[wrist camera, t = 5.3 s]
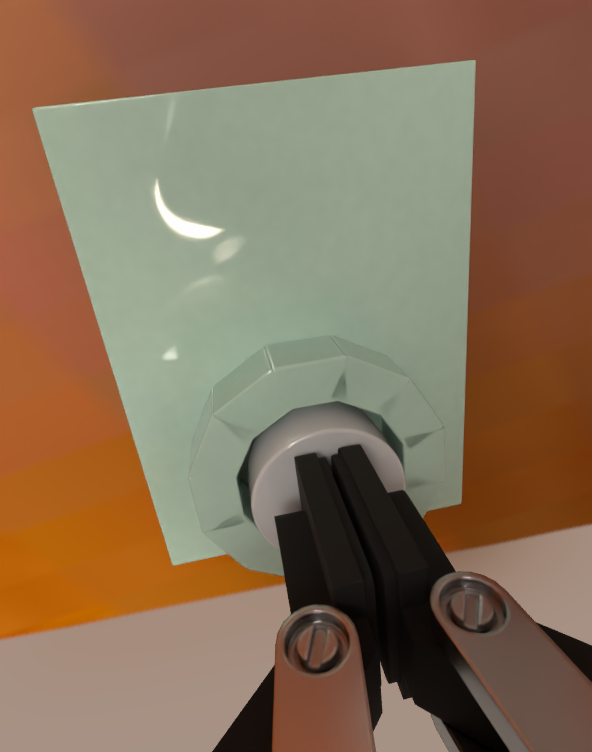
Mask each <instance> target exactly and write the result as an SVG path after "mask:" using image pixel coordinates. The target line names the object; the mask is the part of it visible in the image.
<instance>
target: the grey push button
mask: <svg viewBox="0 0 592 752" xmlns="http://www.w3.org/2000/svg"><path fill="white" fill-rule="evenodd" d="M358 444H360V445H361V446H362V448H363V450H364V451H365V453H366V455H367V457H368V459H369V460H370V462H371V464H372V466H373V467H374V469H375V471H376V473H377V475H378V476H379V478H380V480H381V482H382V483H383V485H384V487H385V489H386V491H387V492H388V493H389V492H394V491H399V490H404V491H405V475H404V470H403V467H402V464H401V462H400V460H399V458H398V456H397V455H396V453H395V452H394V450H393V449H392V447H391V446H390V444H389V443H388V442H387V440H386V439H385V437H384V436H383V434H382V433H381V431H380V430H379V428H378V427H377V425H376V424H375V423H374V421H373V420H372V419H371V418H370V417H369V416H368V415H367V414H365V413H364V412H363V411H362V410H360V409H358V408H356V407H354V406H351V405H348V404H345V403H342V402H339V401H335V402H330V403H324V404H319V405H314V406H308V407H303V408H297V409H292V410H291V411H289V412H288V413H287V414H285V415H284V416H283V417H281V418H280V419H279V420H277V421H276V422H275V423H273V424H272V425H271V426H270V427H268V428H267V429H266V430H264V431H263V432H262V433H260V434H259V435H258V436H256V438H255V440H254V442H253V444H252V446H251V449H250V452H249V456H248V462H247V472H248V481H249V490H250V500H251V508H252V515H253V518H254V522H255V524H256V526H257V528H258V530H259V531H260V533H261V534H262V536H263V537H264V538H265V539H266V540H267V541H268V542H269V543H270V544H271V545H273V546H274V547H275V548H277V549H278V550H280V547H279V541H278V535H277V530H276V524H275V518H274V516H278V515H283V514H288V513H292V512H297V511H302V509H301V502H300V495H299V488H298V482H297V475H296V468H295V461H294V457H296V456H301V455H306V454H311V453H316V454H317V457H318V458H321V457H326V460H327V462H328V465H329V467H330V469H331V472H332V463H331V456H332V455H337V454H338V448H342V447H347V446H353V445H358ZM332 474H333V473H332Z"/></svg>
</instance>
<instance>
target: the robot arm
mask: <svg viewBox="0 0 592 752" xmlns="http://www.w3.org/2000/svg"><path fill="white" fill-rule="evenodd" d="M294 461H295V468H296V475H297V482H298V488H299V495H300V502H301V509H302V511H297V512H292V513H288V514H283V515H278V516H274V518H275V524H276V530H277V535H278V541H279V547H280V553H281V559H282V564H283V570H284V576H285V582H286V587H287V593H288V599H289V605H290V611H291V615H290V616H289V617H288V618H287V619H286V620H285V621H284V622H283V624H282V626H281V628H280V630H279V631H278V634H277V639H276V644H275V665H274V667H273V668H272V670H271V671H270V672H269V674H268V675H267V677H266V678H265V679H264V680H263V682H262V683H261V685H260V686H259V687H258V689H257V691H256V692H255V693H254V694H253V696H252V697H251V699H250V700H249V701H248V703H247V704H246V706H245V707H244V708H243V710H242V711H241V712H240V714H239V715H238V717H237V718H236V719H235V721H234V722H233V724H232V725H231V726H230V728H229V729H228V731H227V732H226V733H225V735H224V736H223V737H222V739H221V740H220V742H219V743H218V745H217V746H216V747H215V749H214V750H213V751H212V752H376V748H375V742H374V735H373V731H374V729H375V726H376V725H377V722H378V721H379V718H380V716H381V714H382V700H381V671H380V662H381V665H382V668H383V670H384V674H385V676H386V679H387V681H388V683H389V684H390V683H394V682H397V683H398V686H399V689H400V691H401V694H402V697H403V699H407V698H411V697H412V698H413V701H414V703H415V704H416V705H417V706H419V707H421V708H422V709H424V710H426V711H428V712H429V713H431V717H432V720H433V722H434V725H435V727H436V729H437V731H438V733H439V735H440V737H441V739H442V740H443V742H444V744H445V746H446V747H447V749H448V751H449V752H592V646H591V645H589V644H587V643H584V642H582V641H580V640H577V639H575V638H572V637H570V636H567V635H565V634H563V633H560V632H558V631H555V630H553V629H551V628H548V627H546V626H543V625H541V624H539V623H536V622H535V621H534V620H533V619H532V618H531V617H530V616H529V615H528V614H527V612H526V611H525V610H524V609H523V608H522V607H521V606H520V605H519V604H518V603H517V602H516V601H515V600H514V598H513V597H512V596H511V595H510V594H509V593H508V592H507V591H506V590H505V589H504V588H503V587H501V586H500V585H499V584H498V583H497V582H495V581H494V580H492V579H490V578H488V577H486V576H484V575H481V574H477V573H473V572H461V571H460V572H456V571H455V570H454V568H453V566H452V565H451V563H450V562H449V560H448V558H447V557H446V555H445V553H444V552H443V550H442V549H441V547H440V545H439V544H438V542H437V541H436V539H435V537H434V536H433V534H432V533H431V531H430V529H429V528H428V526H427V525H426V523H425V521H424V520H423V518H422V517H421V515H420V513H419V512H418V510H417V509H416V507H415V505H414V504H413V502H412V501H411V499H410V497H409V496H408V494H407V493H406V492H405V491H404V490H399V491H394V492H389V493H388V492H387V491H386V489H385V487H384V485H383V483H382V482H381V480H380V478H379V476H378V475H377V473H376V471H375V469H374V467H373V466H372V464H371V462H370V460H369V459H368V457H367V455H366V453H365V451H364V450H363V448H362V446H361V445H360V444H358V445H353V446H347V447H342V448H338V454H337V455H332V456H331V463H332V472H331V469H330V467H329V465H328V462H327V460H326V457H321V458H318V457H317V454H316V453H311V454H306V455H301V456H296V457H294ZM332 473H333V474H332Z"/></svg>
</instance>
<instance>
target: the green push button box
mask: <svg viewBox="0 0 592 752" xmlns="http://www.w3.org/2000/svg"><path fill="white" fill-rule="evenodd" d="M475 70H476V61H475V60H467V61H458V62H449V63H439V64H430V65H421V66H412V67H402V68H393V69H384V70H374V71H365V72H356V73H347V74H337V75H328V76H319V77H310V78H300V79H291V80H282V81H273V82H263V83H254V84H245V85H236V86H226V87H217V88H208V89H199V90H189V91H180V92H171V93H161V94H152V95H143V96H134V97H124V98H115V99H106V100H97V101H87V102H78V103H69V104H60V105H50V106H41V107H34V108H32V112H33V115H34V118H35V121H36V125H37V128H38V131H39V134H40V138H41V141H42V144H43V147H44V151H45V154H46V157H47V160H48V164H49V167H50V170H51V173H52V176H53V180H54V183H55V186H56V189H57V193H58V196H59V199H60V202H61V206H62V209H63V212H64V215H65V219H66V222H67V225H68V228H69V232H70V235H71V238H72V241H73V245H74V248H75V251H76V254H77V257H78V261H79V264H80V267H81V270H82V274H83V277H84V280H85V283H86V287H87V290H88V293H89V296H90V300H91V303H92V306H93V309H94V313H95V316H96V319H97V322H98V326H99V329H100V332H101V335H102V338H103V342H104V345H105V348H106V351H107V355H108V358H109V361H110V364H111V368H112V371H113V374H114V377H115V381H116V384H117V387H118V390H119V394H120V397H121V400H122V403H123V407H124V410H125V413H126V416H127V420H128V423H129V426H130V429H131V432H132V436H133V439H134V442H135V445H136V449H137V452H138V455H139V458H140V462H141V465H142V468H143V471H144V475H145V478H146V481H147V484H148V488H149V491H150V494H151V497H152V501H153V504H154V507H155V510H156V513H157V517H158V520H159V523H160V526H161V530H162V533H163V536H164V539H165V543H166V546H167V549H168V552H169V556H170V559H171V562H172V565H173V566H174V565H179V564H184V563H188V562H193V561H198V560H202V559H207V558H212V557H216V556H221V555H225V554H229V555H230V556H231V557H232V558H234V559H235V560H236V561H237V562H238V563H240V564H241V565H242V566H243V567H244V568H248V569H249V570H253V571H258V572H263V573H269V574H274V575H279V576H284V570H283V564H282V559H281V553H280V550H278V549H277V548H275V547H274V546H273V545H271V544H270V543H269V542H268V541H267V540H266V539H265V538H264V537H263V536H262V534H261V533H260V531H259V530H258V528H257V526H256V524H255V522H254V518H253V515H252V508H251V500H250V490H249V481H248V472H247V462H248V456H249V452H250V449H251V446H252V444H253V442H254V440H255V438H256V436H258V435H259V434H260V433H262V432H263V431H264V430H266V429H267V428H268V427H270V426H271V425H272V424H273V423H275V422H276V421H277V420H279V419H280V418H281V417H283V416H284V415H285V414H287V413H288V412H289V411H291V410H292V409H297V408H303V407H308V406H314V405H319V404H324V403H330V402H335V401H339V402H342V403H345V404H348V405H351V406H354V407H356V408H358V409H360V410H362V411H363V412H364V413H365V414H367V415H368V416H369V417H370V418H371V419H372V420H373V421H374V423H375V424H376V425H377V427H378V428H379V430H380V431H381V433H382V434H383V436H384V437H385V439H386V440H387V442H388V443H389V444H390V446H391V447H392V449H393V450H394V452H395V453H396V455H397V456H398V458H399V460H400V462H401V464H402V467H403V470H404V475H405V492H406V493H407V494H408V496H409V497H410V499H411V501H412V502H413V504H414V505H415V507H416V509H417V510H418V512H419V513H420V515H421V517H422V518H423V517H424V515H425V514H426V512H427V511H430V510H435V509H439V508H444V507H449V506H453V505H458V504H461V503H462V473H463V442H464V411H465V380H466V349H467V318H468V287H469V256H470V225H471V194H472V163H473V132H474V101H475ZM284 577H285V576H284Z"/></svg>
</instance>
